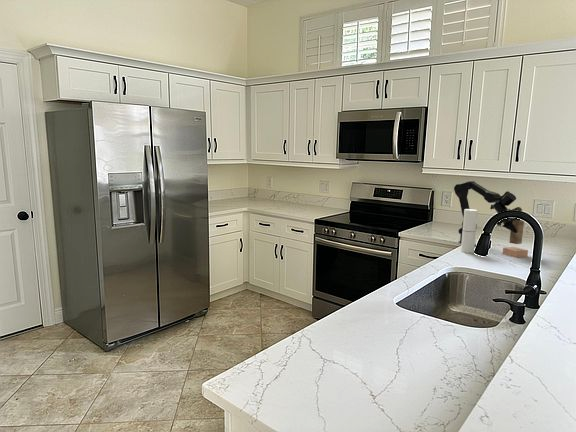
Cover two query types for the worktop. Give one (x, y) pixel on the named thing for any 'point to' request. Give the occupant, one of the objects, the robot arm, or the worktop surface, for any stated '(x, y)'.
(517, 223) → the walnut block
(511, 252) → the terracotta riser
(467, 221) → the cylindrical container
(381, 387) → the worktop surface
